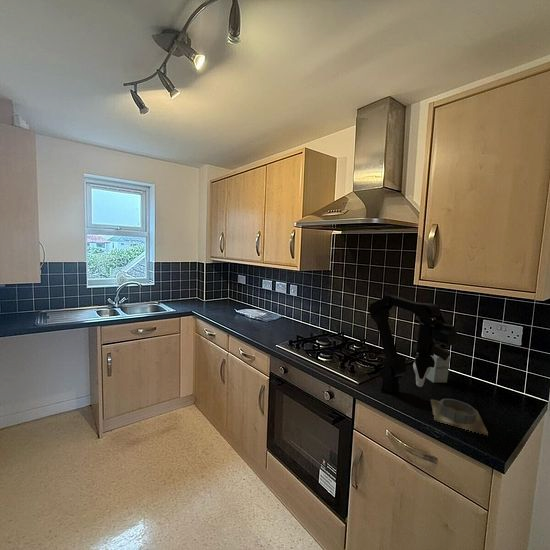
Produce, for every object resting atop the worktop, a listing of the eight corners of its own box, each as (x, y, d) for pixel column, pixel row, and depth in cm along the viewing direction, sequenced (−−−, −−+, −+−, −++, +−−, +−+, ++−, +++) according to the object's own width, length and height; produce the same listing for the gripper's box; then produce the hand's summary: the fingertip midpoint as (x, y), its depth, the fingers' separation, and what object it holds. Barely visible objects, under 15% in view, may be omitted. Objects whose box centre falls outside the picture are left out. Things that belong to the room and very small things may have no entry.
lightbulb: (428, 392, 112) (432, 364, 111) (410, 387, 114) (414, 360, 113) (427, 385, 117) (431, 358, 116) (410, 381, 120) (414, 355, 119)
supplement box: (433, 383, 140) (436, 357, 139) (423, 376, 147) (426, 351, 146) (447, 383, 141) (450, 357, 140) (436, 376, 148) (439, 351, 147)
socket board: (434, 422, 107) (436, 411, 107) (430, 401, 122) (431, 392, 121) (487, 436, 101) (489, 424, 101) (476, 412, 116) (478, 402, 115)
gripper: (453, 348, 102) (447, 391, 104) (446, 334, 119) (441, 371, 121) (418, 341, 106) (412, 383, 108) (415, 329, 123) (411, 365, 125)
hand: (420, 375), depth 115 cm, fingers closed on lightbulb, 6 cm apart
